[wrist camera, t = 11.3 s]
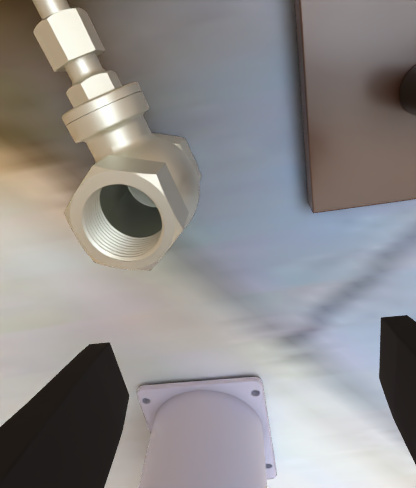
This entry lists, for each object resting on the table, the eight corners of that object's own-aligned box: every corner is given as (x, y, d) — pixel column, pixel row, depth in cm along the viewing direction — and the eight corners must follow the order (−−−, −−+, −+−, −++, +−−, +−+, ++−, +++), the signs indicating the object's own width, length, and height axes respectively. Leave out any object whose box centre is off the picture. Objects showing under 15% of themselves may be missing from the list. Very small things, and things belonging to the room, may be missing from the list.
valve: (242, 184, 17) (122, -123, 13) (245, 245, 11) (22, -287, 7) (123, 230, 19) (-23, -30, 14) (70, 305, 13) (-205, -98, 8)
